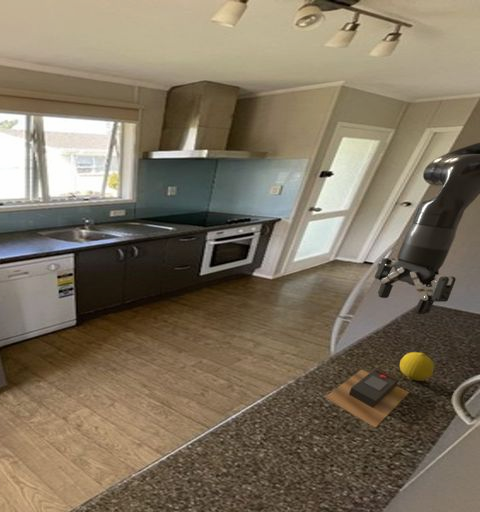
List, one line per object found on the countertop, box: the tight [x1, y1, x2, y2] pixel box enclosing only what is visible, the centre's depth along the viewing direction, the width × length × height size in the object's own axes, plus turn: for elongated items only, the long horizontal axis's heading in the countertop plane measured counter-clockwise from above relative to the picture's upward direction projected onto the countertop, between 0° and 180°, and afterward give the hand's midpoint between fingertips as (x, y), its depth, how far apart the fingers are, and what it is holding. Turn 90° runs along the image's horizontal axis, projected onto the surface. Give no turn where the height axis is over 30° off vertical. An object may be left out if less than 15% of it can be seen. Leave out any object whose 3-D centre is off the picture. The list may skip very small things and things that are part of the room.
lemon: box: [399, 351, 435, 382], centre depth 71 cm, size 6×6×8 cm
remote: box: [349, 368, 400, 408], centre depth 68 cm, size 14×4×2 cm, turn 119°
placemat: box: [324, 368, 410, 429], centre depth 67 cm, size 20×9×1 cm, turn 119°
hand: (400, 304), depth 72 cm, fingers open, 8 cm apart
